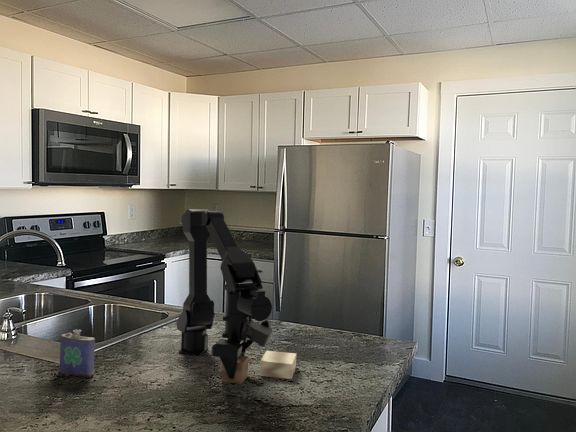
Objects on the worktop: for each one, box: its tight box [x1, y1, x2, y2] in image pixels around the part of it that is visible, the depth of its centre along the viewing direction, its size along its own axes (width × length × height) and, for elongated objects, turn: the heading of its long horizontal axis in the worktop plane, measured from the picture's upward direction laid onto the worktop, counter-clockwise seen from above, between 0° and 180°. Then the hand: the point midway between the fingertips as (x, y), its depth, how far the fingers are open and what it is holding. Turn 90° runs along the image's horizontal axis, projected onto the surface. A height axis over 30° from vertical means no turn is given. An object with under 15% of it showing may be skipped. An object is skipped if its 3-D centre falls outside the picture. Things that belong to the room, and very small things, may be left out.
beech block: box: [259, 350, 297, 380], centre depth 125 cm, size 8×8×4 cm
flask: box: [58, 329, 96, 378], centre depth 117 cm, size 9×3×11 cm, turn 74°
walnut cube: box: [221, 355, 250, 385], centre depth 119 cm, size 5×5×5 cm
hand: (235, 374), depth 119 cm, fingers closed on walnut cube, 5 cm apart
